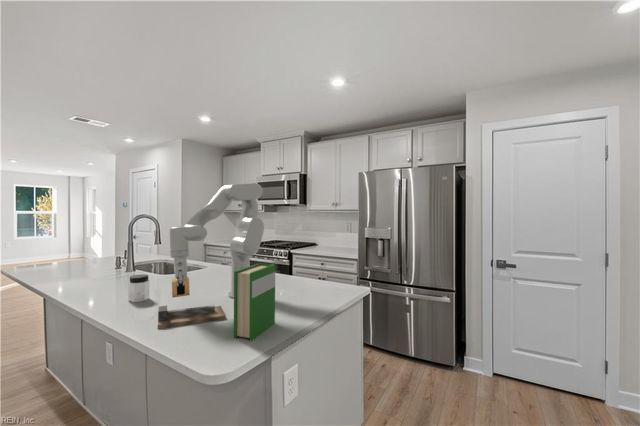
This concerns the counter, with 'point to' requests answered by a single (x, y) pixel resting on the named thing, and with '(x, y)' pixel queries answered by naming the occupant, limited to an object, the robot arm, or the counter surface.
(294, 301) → the counter surface
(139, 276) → the jar
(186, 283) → the wooden block
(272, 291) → the hardback book
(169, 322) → the rail board
